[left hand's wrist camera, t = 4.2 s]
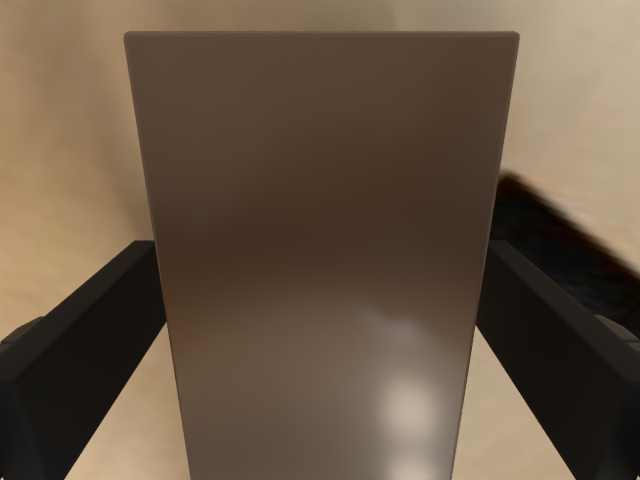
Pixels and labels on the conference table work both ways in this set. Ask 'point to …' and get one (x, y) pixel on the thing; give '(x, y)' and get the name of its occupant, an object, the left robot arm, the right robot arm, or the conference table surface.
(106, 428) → the conference table surface
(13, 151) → the conference table surface
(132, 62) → the post
